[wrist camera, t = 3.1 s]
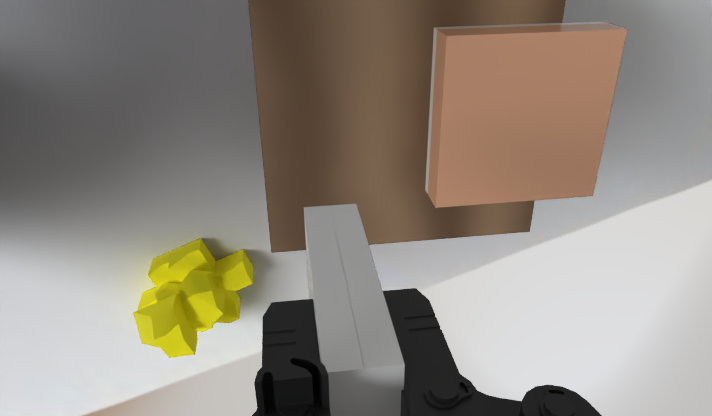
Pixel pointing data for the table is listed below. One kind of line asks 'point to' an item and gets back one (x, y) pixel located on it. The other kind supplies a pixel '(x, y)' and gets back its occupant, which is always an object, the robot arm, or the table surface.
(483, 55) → the terracotta tile
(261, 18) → the walnut step
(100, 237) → the table surface
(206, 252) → the crumpled paper
